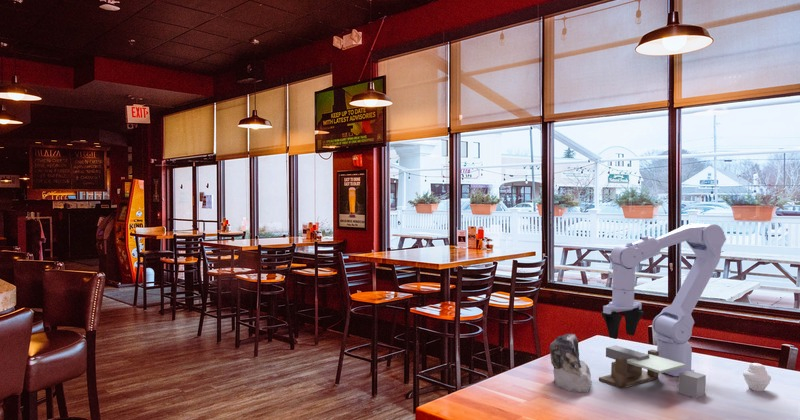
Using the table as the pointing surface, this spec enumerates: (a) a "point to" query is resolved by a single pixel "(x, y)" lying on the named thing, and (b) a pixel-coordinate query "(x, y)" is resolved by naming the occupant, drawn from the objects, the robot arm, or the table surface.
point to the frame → (628, 373)
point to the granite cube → (692, 383)
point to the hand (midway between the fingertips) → (621, 336)
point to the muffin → (756, 377)
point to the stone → (569, 364)
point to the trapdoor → (643, 359)
